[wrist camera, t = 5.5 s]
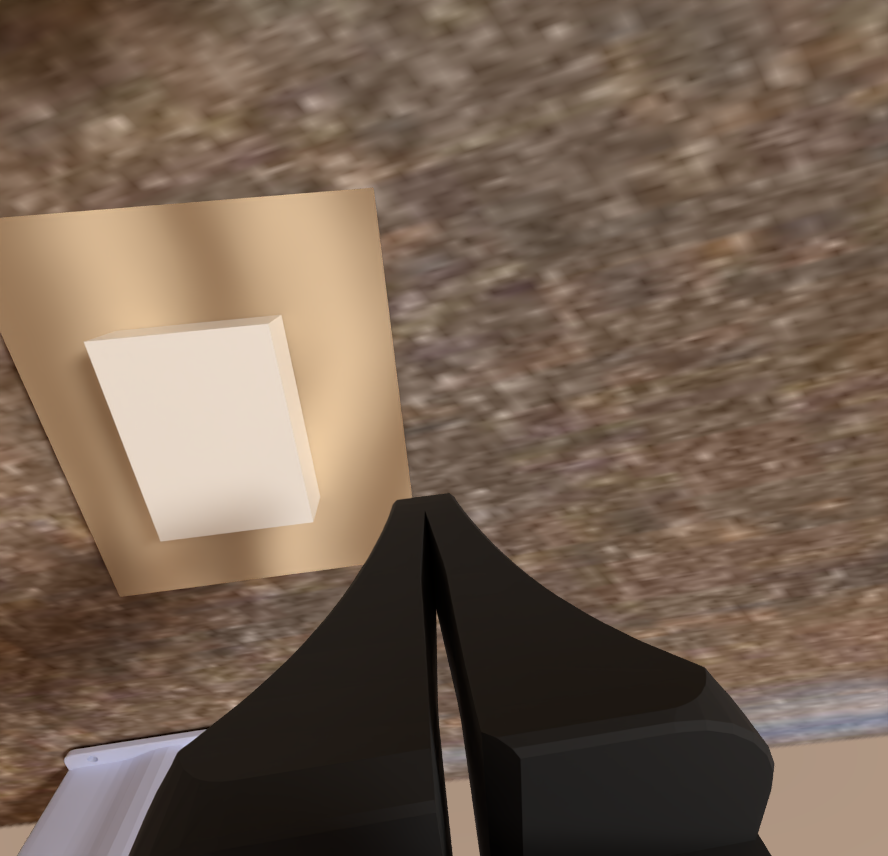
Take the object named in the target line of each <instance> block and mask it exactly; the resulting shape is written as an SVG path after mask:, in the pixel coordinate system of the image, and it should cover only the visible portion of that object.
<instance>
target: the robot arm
mask: <svg viewBox="0 0 888 856" xmlns="http://www.w3.org/2000/svg"><path fill="white" fill-rule="evenodd" d="M436 610H437V614H438V619H439V623H440V627H441V632H442V636H443V640H444V645H445V649H446V653H447V658H448V662H449V666H450V671H451V675H452V679H453V684H454V688H455V692H456V697H457V702H458V707H459V712H460V717H461V723H462V730H463V737H464V744H465V751H466V758H467V766H468V773H469V780H470V787H471V794H472V801H473V809H474V815H475V823H476V830H477V837H478V844H479V852H480V856H771V854H770V853H769V851H768V850H767V848H766V846H765V844H764V843H763V841H762V840H761V838H760V837H759V835H758V831H759V828H760V825H761V821H762V818H763V815H764V812H765V808H766V805H767V801H768V799H769V795H770V792H771V787H772V780H773V772H774V761H773V758H772V755H771V752H770V749H769V747H768V745H767V744H766V743H765V741H764V740H763V739H762V737H761V736H760V735H759V733H758V732H757V730H756V729H755V728H754V726H753V725H752V724H751V722H750V721H749V720H748V718H747V717H746V716H745V714H744V713H743V712H742V710H741V709H740V708H739V707H738V705H737V704H736V703H735V702H734V700H733V699H732V698H731V697H730V696H729V695H728V693H727V692H726V691H725V690H724V689H723V688H722V687H721V686H720V685H719V684H718V682H717V681H716V680H715V679H714V678H713V677H712V676H711V674H710V673H709V672H708V671H707V669H706V668H705V667H702V666H700V665H698V664H695V663H693V662H690V661H688V660H685V659H683V658H680V657H678V656H676V655H673V654H671V653H668V652H666V651H663V650H661V649H659V648H656V647H654V646H651V645H649V644H646V643H644V642H642V641H640V640H637V639H635V638H633V637H631V636H629V635H627V634H625V633H623V632H621V631H619V630H617V629H615V628H613V627H611V626H609V625H607V624H605V623H603V622H601V621H599V620H597V619H596V618H594V617H592V616H590V615H588V614H586V613H585V612H583V611H581V610H580V609H578V608H576V607H575V606H573V605H572V604H570V603H568V602H567V601H565V600H563V599H562V598H560V597H558V596H557V595H555V594H554V593H552V592H551V591H549V590H548V589H546V588H545V587H544V586H542V585H541V584H540V583H538V582H537V581H536V580H534V579H533V578H532V577H530V576H529V575H528V574H526V573H525V572H524V571H523V570H522V569H520V568H519V567H518V566H517V565H516V564H514V563H513V562H512V561H511V560H510V559H509V558H508V557H507V556H506V555H504V554H503V553H502V552H501V551H500V550H499V549H498V548H497V547H496V546H495V545H494V544H493V543H492V542H491V541H490V540H489V539H488V538H487V537H486V536H485V535H484V534H483V533H482V532H481V530H480V529H479V528H478V527H477V526H476V525H475V524H474V523H473V522H472V520H471V519H470V518H469V517H468V515H467V514H466V513H465V512H464V510H463V509H462V508H461V506H460V505H459V504H458V502H457V501H456V499H455V497H454V496H452V495H451V494H450V493H447V494H439V495H431V496H423V497H415V498H407V499H400V500H396V501H395V502H394V504H393V505H392V508H391V511H390V514H389V517H388V519H387V521H386V524H385V526H384V528H383V530H382V532H381V534H380V536H379V538H378V540H377V542H376V544H375V546H374V548H373V550H372V552H371V553H370V555H369V557H368V559H367V560H366V562H365V563H364V565H363V567H362V568H361V570H360V571H359V573H358V575H357V576H356V578H355V579H354V581H353V583H352V584H351V585H350V587H349V588H348V590H347V591H346V593H345V594H344V595H343V597H342V598H341V599H340V601H339V602H338V603H337V605H336V606H335V607H334V608H333V610H332V611H331V612H330V614H329V615H328V616H327V617H326V619H325V620H324V621H323V622H322V623H321V624H320V625H319V627H318V628H317V629H316V630H315V631H314V632H313V633H312V635H311V636H310V637H309V638H308V639H307V640H306V641H305V643H304V644H303V645H302V646H301V647H300V648H299V649H298V650H297V651H296V652H295V653H294V654H293V655H292V656H291V657H290V658H289V659H288V660H287V661H286V662H285V663H284V664H283V665H282V666H281V667H280V668H279V669H278V670H277V671H276V672H275V673H273V674H272V675H271V676H270V677H269V678H268V679H267V680H266V681H265V682H264V683H262V684H261V685H260V686H259V687H258V688H257V689H256V690H255V691H254V692H252V693H251V694H250V695H249V696H248V697H246V698H245V699H244V700H243V701H242V702H241V703H239V704H238V705H237V706H236V707H234V708H233V709H232V710H231V711H229V712H228V713H227V714H226V715H224V716H223V717H222V718H221V719H219V720H218V721H217V722H215V723H214V724H213V725H212V726H210V727H209V728H208V729H204V730H198V731H191V732H185V733H178V734H172V735H165V736H159V737H152V738H146V739H139V740H132V741H126V742H119V743H113V744H106V745H100V746H93V747H87V748H80V749H74V750H71V751H69V752H68V754H67V755H66V757H65V758H64V763H65V765H66V766H67V768H68V770H69V771H68V772H67V774H66V776H65V777H64V779H63V781H62V782H61V784H60V785H59V787H58V789H57V790H56V792H55V794H54V795H53V797H52V799H51V800H50V802H49V804H48V805H47V807H46V809H45V810H44V812H43V814H42V815H41V817H40V818H39V820H38V822H37V823H36V825H35V827H34V828H33V830H32V832H31V833H30V835H29V837H28V838H27V840H26V842H25V843H24V845H23V847H22V848H21V850H20V852H19V853H18V855H17V856H453V855H452V845H451V836H450V826H449V816H448V807H447V798H446V788H445V778H444V768H443V759H442V749H441V739H440V730H439V716H438V688H437V632H436Z"/></svg>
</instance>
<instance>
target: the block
mask: <svg viewBox="0 0 888 856" xmlns="http://www.w3.org/2000/svg"><path fill="white" fill-rule="evenodd" d="M84 344H85V346H86V349H87V352H88V354H89V357H90V359H91V362H92V365H93V367H94V370H95V372H96V375H97V378H98V380H99V383H100V385H101V388H102V391H103V393H104V396H105V398H106V401H107V404H108V406H109V409H110V411H111V414H112V417H113V419H114V422H115V424H116V427H117V430H118V432H119V435H120V437H121V440H122V443H123V445H124V448H125V450H126V453H127V456H128V458H129V461H130V463H131V466H132V469H133V471H134V474H135V476H136V479H137V482H138V484H139V487H140V489H141V492H142V495H143V497H144V500H145V502H146V505H147V507H148V510H149V513H150V515H151V518H152V520H153V523H154V526H155V528H156V531H157V533H158V536H159V539H160V541H169V540H177V539H185V538H193V537H201V536H208V535H216V534H224V533H232V532H240V531H248V530H256V529H264V528H272V527H279V526H287V525H295V524H303V523H311V522H313V521H314V518H315V514H316V511H317V507H318V503H319V500H320V493H319V489H318V484H317V479H316V474H315V470H314V465H313V460H312V456H311V451H310V446H309V442H308V437H307V432H306V428H305V423H304V418H303V414H302V409H301V404H300V400H299V395H298V390H297V386H296V381H295V376H294V371H293V367H292V362H291V357H290V353H289V348H288V343H287V339H286V334H285V329H284V325H283V320H282V315H273V316H262V317H252V318H242V319H232V320H221V321H211V322H201V323H190V324H180V325H170V326H160V327H149V328H139V329H129V330H118V331H114V332H111V333H108V334H105V335H102V336H100V337H97V338H94V339H91V340H88V341H85V342H84Z"/></svg>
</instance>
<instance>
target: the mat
mask: <svg viewBox="0 0 888 856" xmlns="http://www.w3.org/2000/svg"><path fill="white" fill-rule="evenodd" d="M273 315H282V320H283V325H284V329H285V334H286V339H287V343H288V348H289V353H290V357H291V362H292V367H293V371H294V376H295V381H296V386H297V390H298V395H299V400H300V404H301V409H302V414H303V418H304V423H305V428H306V432H307V437H308V442H309V446H310V451H311V456H312V460H313V465H314V470H315V474H316V479H317V484H318V489H319V493H320V500H319V503H318V507H317V511H316V514H315V518H314V521H313V522H311V523H303V524H295V525H287V526H279V527H272V528H264V529H256V530H248V531H240V532H232V533H224V534H216V535H208V536H201V537H193V538H185V539H177V540H169V541H160V539H159V536H158V533H157V531H156V528H155V526H154V523H153V520H152V518H151V515H150V513H149V510H148V507H147V505H146V502H145V500H144V497H143V495H142V492H141V489H140V487H139V484H138V482H137V479H136V476H135V474H134V471H133V469H132V466H131V463H130V461H129V458H128V456H127V453H126V450H125V448H124V445H123V443H122V440H121V437H120V435H119V432H118V430H117V427H116V424H115V422H114V419H113V417H112V414H111V411H110V409H109V406H108V404H107V401H106V398H105V396H104V393H103V391H102V388H101V385H100V383H99V380H98V378H97V375H96V372H95V370H94V367H93V365H92V362H91V359H90V357H89V354H88V352H87V349H86V346H85V344H84V342H85V341H88V340H91V339H94V338H97V337H100V336H102V335H105V334H108V333H111V332H114V331H118V330H129V329H139V328H149V327H160V326H170V325H180V324H190V323H201V322H211V321H221V320H232V319H242V318H252V317H262V316H273ZM0 332H1V335H2V337H3V339H4V341H5V343H6V346H7V348H8V350H9V352H10V355H11V357H12V359H13V361H14V363H15V366H16V368H17V370H18V372H19V374H20V377H21V379H22V381H23V383H24V386H25V388H26V390H27V392H28V394H29V397H30V399H31V401H32V403H33V405H34V408H35V410H36V412H37V414H38V417H39V419H40V421H41V423H42V425H43V428H44V430H45V432H46V434H47V436H48V439H49V441H50V443H51V445H52V448H53V450H54V452H55V454H56V456H57V459H58V461H59V463H60V465H61V467H62V470H63V472H64V474H65V476H66V479H67V481H68V483H69V485H70V487H71V490H72V492H73V494H74V496H75V498H76V501H77V503H78V505H79V507H80V510H81V512H82V514H83V516H84V518H85V521H86V523H87V525H88V527H89V529H90V532H91V534H92V536H93V538H94V541H95V543H96V545H97V547H98V549H99V552H100V554H101V556H102V558H103V560H104V563H105V565H106V567H107V569H108V572H109V574H110V576H111V578H112V580H113V583H114V585H115V587H116V589H117V591H118V594H119V596H120V597H123V596H131V595H138V594H146V593H153V592H161V591H168V590H176V589H183V588H191V587H198V586H206V585H213V584H221V583H228V582H236V581H243V580H251V579H258V578H266V577H273V576H281V575H288V574H296V573H303V572H311V571H318V570H326V569H333V568H341V567H348V566H356V565H363V564H364V563H365V562H366V560H367V559H368V557H369V555H370V553H371V552H372V550H373V548H374V546H375V544H376V542H377V540H378V538H379V536H380V534H381V532H382V530H383V528H384V526H385V524H386V521H387V519H388V517H389V514H390V511H391V508H392V505H393V504H394V502H395V501H396V500H400V499H407V498H412V492H411V484H410V476H409V468H408V460H407V452H406V444H405V436H404V428H403V420H402V412H401V404H400V396H399V388H398V380H397V372H396V364H395V356H394V348H393V340H392V332H391V324H390V316H389V308H388V300H387V292H386V284H385V276H384V268H383V259H382V251H381V243H380V235H379V227H378V219H377V211H376V203H375V195H374V189H373V188H365V189H353V190H340V191H328V192H316V193H303V194H291V195H278V196H266V197H253V198H241V199H229V200H216V201H204V202H191V203H179V204H166V205H154V206H142V207H129V208H117V209H104V210H92V211H79V212H67V213H55V214H42V215H30V216H17V217H5V218H0Z"/></svg>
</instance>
